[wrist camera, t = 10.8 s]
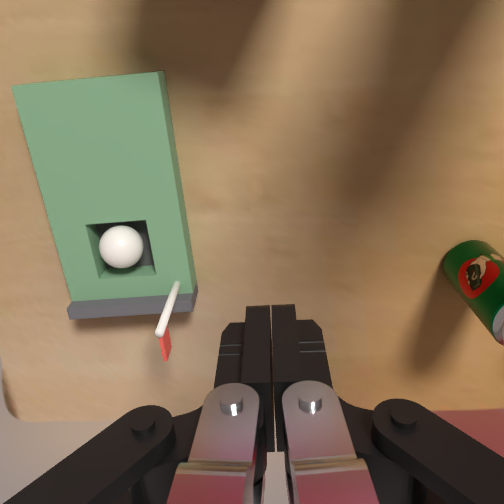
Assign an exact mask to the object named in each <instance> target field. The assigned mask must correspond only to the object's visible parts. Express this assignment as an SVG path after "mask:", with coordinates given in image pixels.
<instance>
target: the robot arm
mask: <svg viewBox="0 0 504 504" xmlns="http://www.w3.org/2000/svg"><path fill="white" fill-rule="evenodd" d="M272 348H273V357H272ZM273 386H274V397H273ZM274 404H275V421H276V438H277V451H278V452H282V451H284V453H285V469H286V470H285V471H286V485H287V492H288V500H289V504H504V458H503V457H502V456H500V455H498V454H497V453H495V452H494V451H492V450H490V449H489V448H487V447H486V446H484V445H483V444H481V443H480V442H478V441H476V440H475V439H473V438H472V437H470V436H468V435H467V434H465V433H464V432H462V431H461V430H459V429H458V428H456V427H454V426H453V425H451V424H450V423H448V422H447V421H445V420H443V419H442V418H440V417H439V416H437V415H436V414H434V413H432V412H431V411H429V410H428V409H426V408H425V407H423V406H421V405H420V404H418V403H415V402H413V401H410V400H405V399H389V400H386V401H383V402H381V403H380V404H378V405H377V406H376V407H375V409H374V411H372V410H367V409H363V408H359V407H355V406H353V405H350V404H348V403H346V402H345V401H343V400H342V399H341V398H340V397H338V395H337V394H336V392H335V391H334V389H333V386H332V382H331V376H330V371H329V366H328V361H327V356H326V352H325V345H324V340H323V335H322V329H321V328H320V327H319V326H318V325H317V324H316V323H315V322H314V320H296V312H295V304H286V305H272V338H271V320H270V305H264V306H247V307H246V318H245V322H240V323H230V324H229V325H228V326H227V327H226V329H225V330H224V331H223V332H222V336H221V342H220V349H219V356H218V363H217V369H216V376H215V383H214V389H213V390H212V391H211V392H210V393H209V394H208V395H207V396H206V398H205V401H204V404H203V406H201V407H200V408H198V409H196V410H194V411H192V412H189V413H186V414H183V415H179V416H176V417H172V416H171V414H170V412H169V411H168V410H166V409H165V408H163V407H160V406H155V405H148V406H142V407H138V408H136V409H133V410H131V411H129V412H128V413H126V414H125V415H123V416H122V417H121V418H119V419H118V420H117V421H115V422H114V423H113V424H111V425H110V426H108V427H107V428H106V429H104V430H103V431H102V432H100V433H99V434H98V435H96V436H95V437H93V438H92V439H91V440H89V441H88V442H87V443H85V444H84V445H82V446H81V447H80V448H78V449H77V450H76V451H74V452H73V453H72V454H70V455H69V456H67V457H66V458H65V459H63V460H62V461H61V462H59V463H58V464H57V465H55V466H54V467H52V468H51V469H50V470H49V471H47V472H46V473H44V474H43V475H42V476H40V477H39V478H38V479H36V480H35V481H33V482H32V483H31V484H30V485H28V486H27V487H25V488H24V489H22V490H21V491H20V492H18V493H17V494H16V495H14V496H13V497H11V498H10V499H9V500H7V501H6V502H5V503H3V504H263V501H264V489H265V471H266V466H267V452H275V446H274V445H275V442H274Z"/></svg>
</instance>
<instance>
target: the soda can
mask: <svg viewBox="0 0 504 504" xmlns="http://www.w3.org/2000/svg"><path fill="white" fill-rule="evenodd" d="M443 271H444V275H445V277H446V278H447V280H448V281H449V282H450V283H451V285H452V286H453V287H454V288H455V290H456V291H457V292H458V293H459V295H460V296H461V297H462V298H463V300H464V301H465V302H466V303H467V305H468V306H469V307H470V308H471V310H472V311H473V312H474V313H475V315H476V316H477V317H478V318H479V320H480V321H481V322H482V323H483V325H484V326H485V327H486V328H487V330H488V331H489V332H490V333H491V335H492V336H493V337H494V338H495V340H496V341H497V342H498V343H500V344H501V345H503V346H504V257H503V256H501V255H500V254H499V253H498V252H497V251H496V250H495V249H493V248H492V247H491V246H490V245H489V244H487V243H485V242H483V241H478V240H471V241H466V242H463V243H460V244H459V245H457V246H455V247H454V248H453V249H452V250H451V251H450V252H449V253H448V255H447V256H446V258H445V260H444V264H443Z"/></svg>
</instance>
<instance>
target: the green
mask: <svg viewBox="0 0 504 504" xmlns="http://www.w3.org/2000/svg"><path fill="white" fill-rule="evenodd" d="M11 88H12V92H13V95H14V99H15V102H16V106H17V109H18V113H19V116H20V120H21V123H22V127H23V130H24V134H25V137H26V141H27V144H28V148H29V151H30V155H31V159H32V162H33V166H34V169H35V173H36V176H37V180H38V183H39V187H40V190H41V194H42V197H43V201H44V204H45V208H46V211H47V215H48V218H49V222H50V226H51V229H52V233H53V236H54V240H55V243H56V247H57V250H58V254H59V257H60V261H61V264H62V268H63V271H64V275H65V278H66V282H67V285H68V289H69V293H70V296H71V300H72V302H71V304H70V305H69V306H68V308H67V312H68V316H69V319H70V320H71V319H86V318H101V317H116V316H131V315H146V314H161V313H162V315H161V318H160V320H159V323H158V326H157V328H156V331H155V336H156V337H159V341H160V346H161V351H162V356H163V361H167V360H168V357H169V353H170V350H171V347H172V346H171V341H170V336H169V330H168V325H167V323H168V320H169V317H170V314H171V313H176V312H190V311H193V309H194V305H195V301H196V297H197V293H198V287H197V281H196V274H195V268H194V261H193V255H192V248H191V242H190V235H189V229H188V223H187V216H186V210H185V203H184V197H183V190H182V184H181V177H180V171H179V164H178V158H177V152H176V145H175V139H174V132H173V126H172V119H171V113H170V106H169V100H168V93H167V87H166V80H165V74H164V71H155V72H145V73H134V74H124V75H113V76H103V77H92V78H82V79H72V80H61V81H51V82H40V83H30V84H22V85H15V86H11ZM119 225H123V226H128V227H131V228H133V229H134V230H136V231H137V232H138V233H139V235H140V236H141V238H142V240H143V245H144V249H143V253H142V256H141V258H140V259H139V260H138V262H136V263H135V264H134V265H132V266H130V267H127V268H116V267H113V266H111V265H109V264H108V263H106V262H105V261H104V259H103V258H102V256H101V254H100V251H99V243H100V239H101V237H102V235H103V234H104V233H105V232H106V231H107V230H108V229H110V228H112V227H114V226H119Z"/></svg>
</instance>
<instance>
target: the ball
mask: <svg viewBox="0 0 504 504" xmlns="http://www.w3.org/2000/svg"><path fill="white" fill-rule="evenodd" d="M143 249H144V245H143V240H142V238H141V236H140V235H139V233H138V232H137V231H136V230H134V229H133V228H131V227H128V226H123V225H119V226H114V227H112V228H110V229H108V230H107V231H106V232H105V233H104V234H103V235H102V237H101V239H100V243H99V251H100V254H101V256H102V258H103V259H104V261H105V262H106V263H108V264H109V265H111V266H113V267H116V268H127V267H130V266H132V265H134V264H135V263H136V262H138V260H139V259H140V258H141V256H142V253H143Z"/></svg>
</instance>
